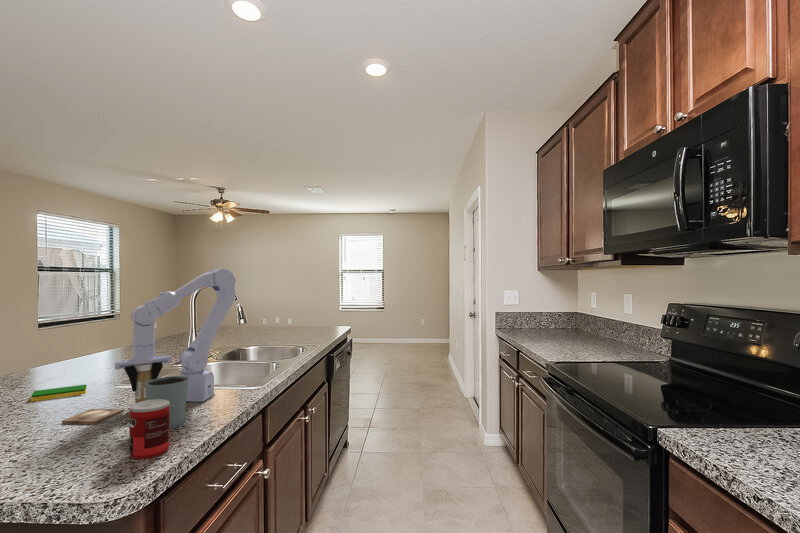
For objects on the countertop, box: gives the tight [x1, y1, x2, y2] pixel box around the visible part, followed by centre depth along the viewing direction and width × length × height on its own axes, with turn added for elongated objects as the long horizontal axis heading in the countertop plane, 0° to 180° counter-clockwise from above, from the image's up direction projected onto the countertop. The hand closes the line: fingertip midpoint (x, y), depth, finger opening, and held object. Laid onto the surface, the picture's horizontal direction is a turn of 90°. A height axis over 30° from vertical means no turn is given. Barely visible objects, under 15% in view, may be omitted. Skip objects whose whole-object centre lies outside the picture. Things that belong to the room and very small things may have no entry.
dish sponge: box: [30, 384, 88, 403], centre depth 136 cm, size 7×14×2 cm, turn 125°
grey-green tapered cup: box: [145, 375, 188, 430], centre depth 110 cm, size 10×10×12 cm
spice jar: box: [134, 363, 152, 404], centre depth 124 cm, size 5×5×14 cm
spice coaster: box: [61, 408, 125, 425], centre depth 115 cm, size 10×10×1 cm
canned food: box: [128, 399, 170, 460], centre depth 92 cm, size 8×8×11 cm
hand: (143, 389), depth 124 cm, fingers open, 4 cm apart
